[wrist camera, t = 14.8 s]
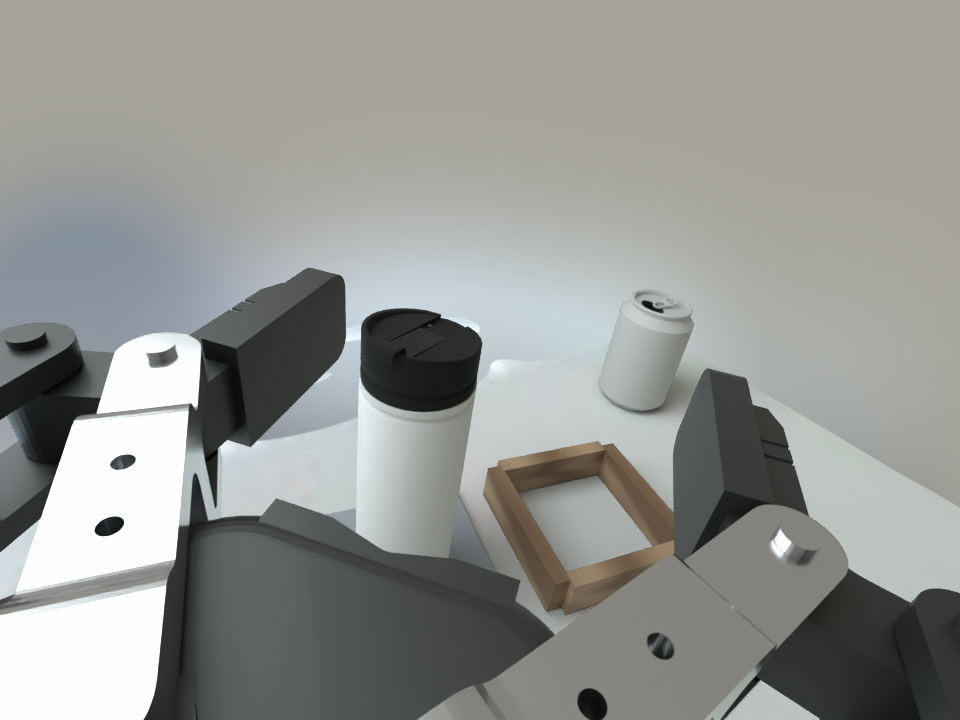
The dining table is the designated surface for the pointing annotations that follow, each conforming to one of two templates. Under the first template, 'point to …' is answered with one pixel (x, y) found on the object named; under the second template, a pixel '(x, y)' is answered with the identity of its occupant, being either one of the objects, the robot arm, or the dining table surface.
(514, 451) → the dining table surface
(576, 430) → the dining table surface
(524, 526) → the frame
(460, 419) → the travel mug
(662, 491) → the dining table surface
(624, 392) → the can
